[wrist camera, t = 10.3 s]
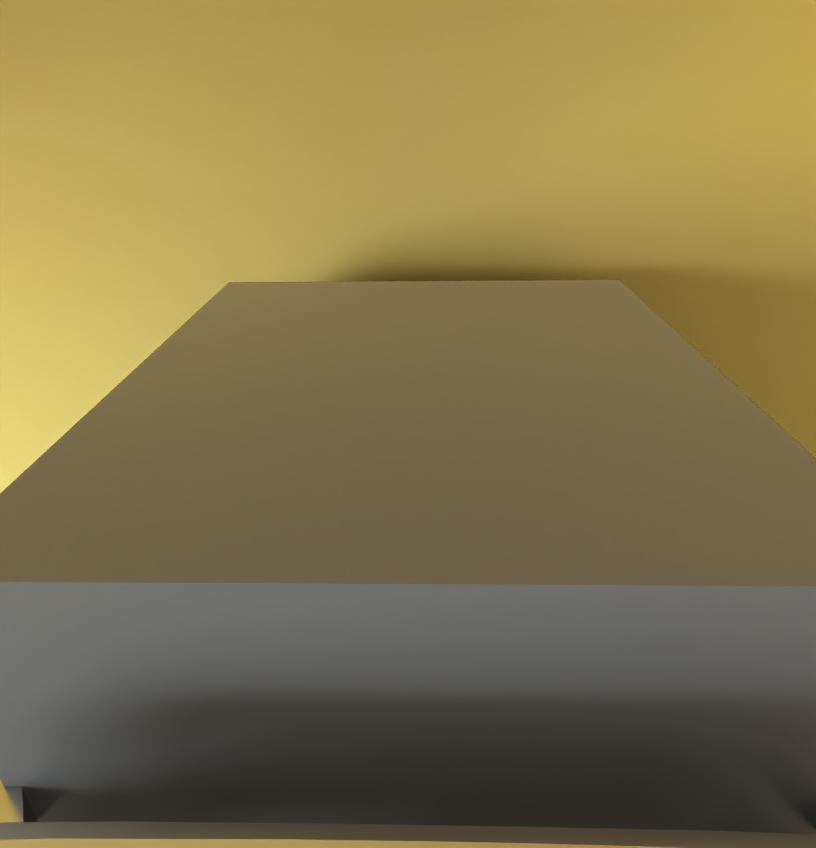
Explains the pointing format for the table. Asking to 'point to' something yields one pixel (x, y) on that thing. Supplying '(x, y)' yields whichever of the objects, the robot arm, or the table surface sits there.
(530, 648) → the grey tapered block
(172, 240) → the table surface
